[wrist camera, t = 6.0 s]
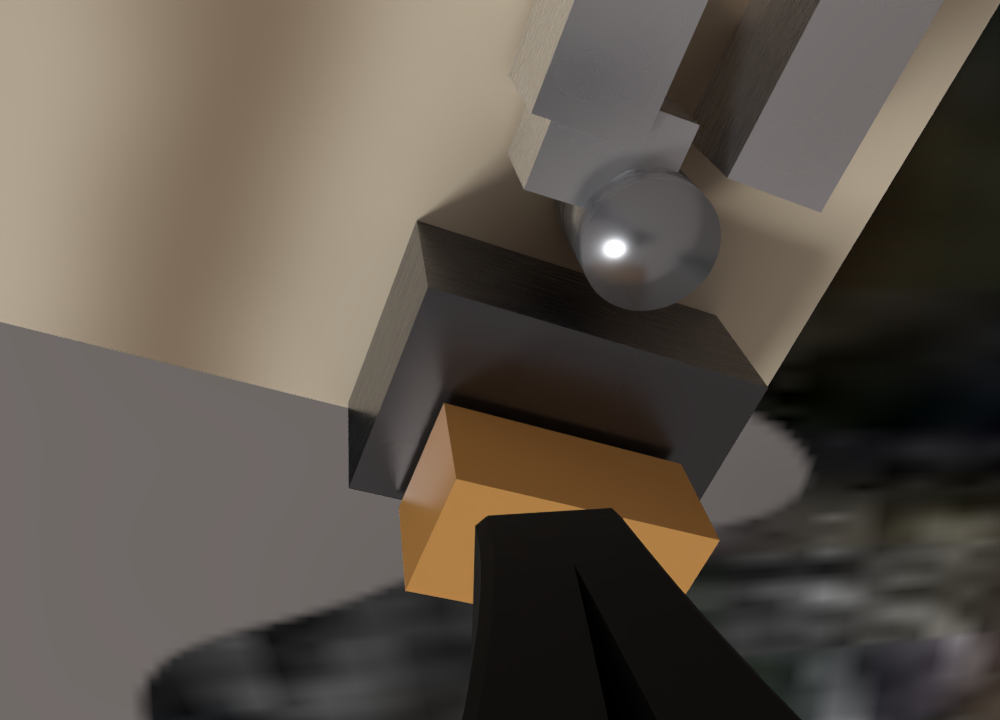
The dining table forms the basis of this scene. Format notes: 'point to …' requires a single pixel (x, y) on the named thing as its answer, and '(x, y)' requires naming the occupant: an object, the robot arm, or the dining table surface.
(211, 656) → the dining table surface
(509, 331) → the tongs frame
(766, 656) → the dining table surface
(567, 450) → the block
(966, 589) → the dining table surface
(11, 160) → the board
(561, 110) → the bar
